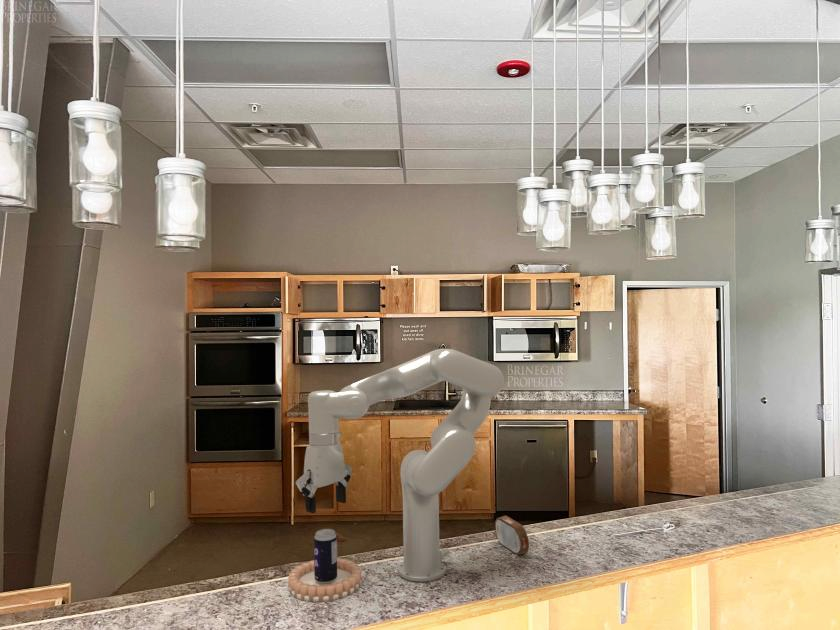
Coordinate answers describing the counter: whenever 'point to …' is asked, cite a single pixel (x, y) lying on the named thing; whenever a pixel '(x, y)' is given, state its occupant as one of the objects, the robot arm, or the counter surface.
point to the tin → (512, 535)
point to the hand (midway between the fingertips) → (326, 507)
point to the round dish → (311, 590)
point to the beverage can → (325, 556)
